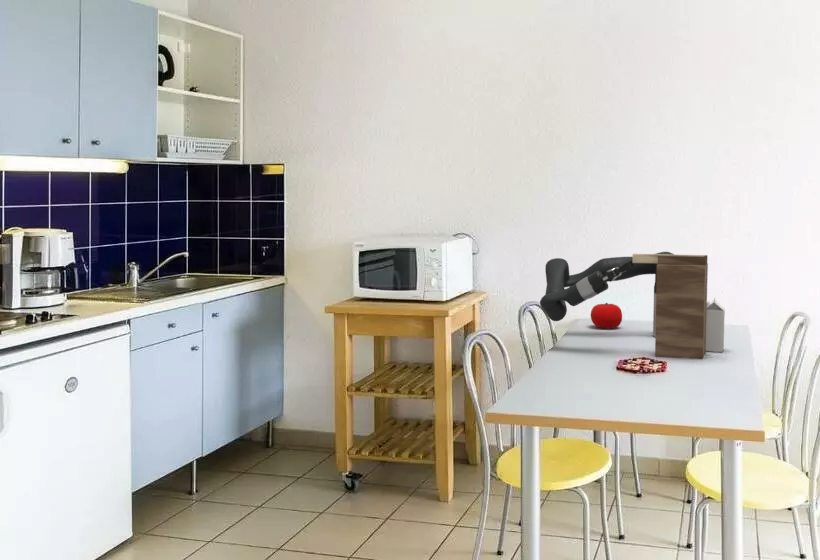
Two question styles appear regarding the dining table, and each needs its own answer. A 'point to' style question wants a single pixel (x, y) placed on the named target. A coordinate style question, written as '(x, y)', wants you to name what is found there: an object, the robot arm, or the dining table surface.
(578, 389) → the dining table surface
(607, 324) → the tomato
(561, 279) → the robot arm
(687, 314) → the pedestal
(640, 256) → the wooden block
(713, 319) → the milk carton
